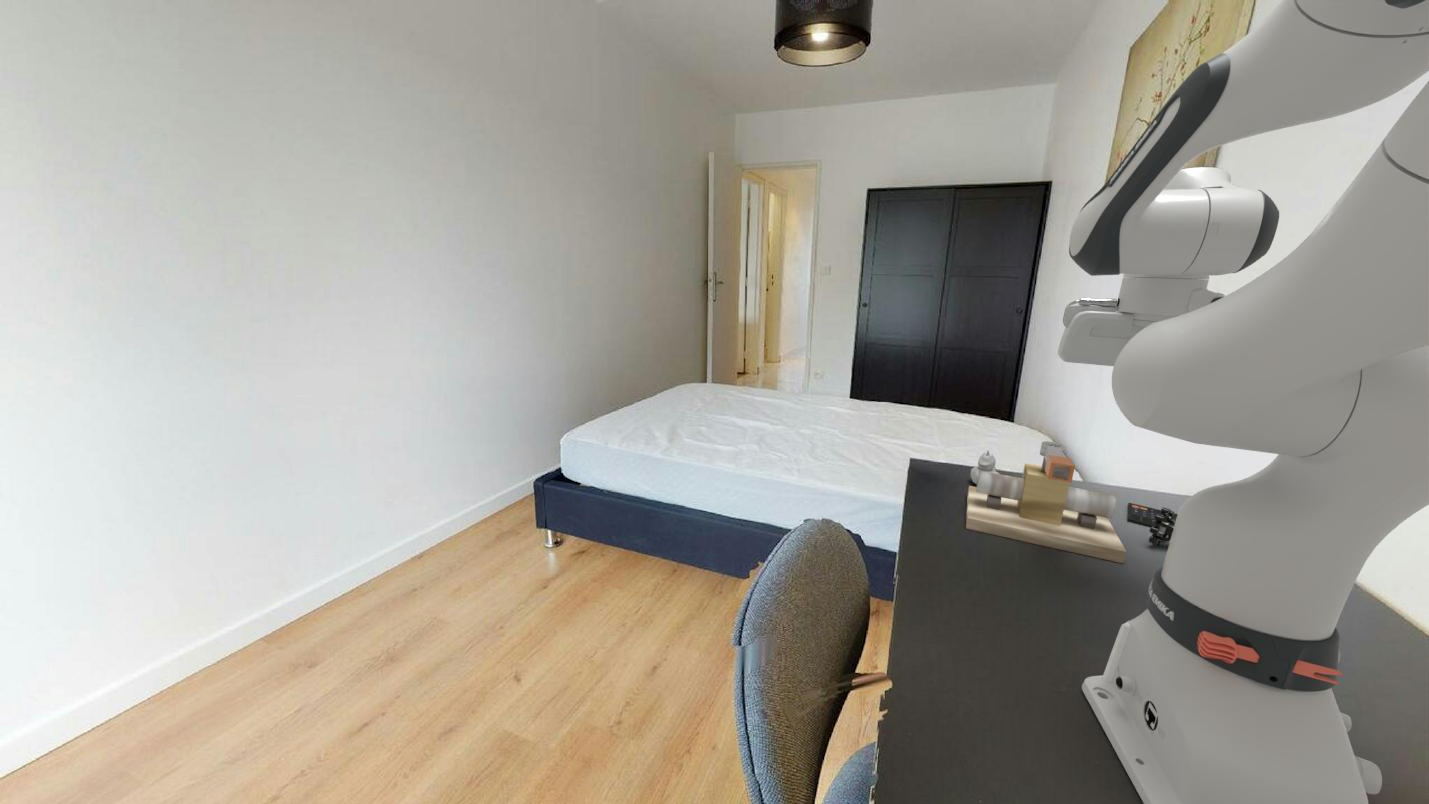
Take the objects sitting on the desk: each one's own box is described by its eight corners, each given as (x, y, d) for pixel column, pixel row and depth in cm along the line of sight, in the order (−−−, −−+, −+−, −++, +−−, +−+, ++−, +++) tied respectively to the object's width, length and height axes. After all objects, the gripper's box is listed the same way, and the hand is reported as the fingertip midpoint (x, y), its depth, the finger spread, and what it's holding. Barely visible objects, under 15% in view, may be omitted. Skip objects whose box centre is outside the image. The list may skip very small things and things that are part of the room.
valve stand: (1123, 563, 79) (1143, 486, 76) (966, 528, 88) (978, 458, 85) (1101, 521, 93) (1117, 455, 90) (967, 495, 102) (977, 434, 99)
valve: (1258, 574, 78) (1160, 538, 88) (1271, 534, 76) (1170, 503, 86) (1245, 586, 75) (1144, 548, 84) (1258, 545, 73) (1154, 511, 83)
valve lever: (1038, 452, 90) (1041, 438, 89) (1058, 456, 88) (1061, 441, 88) (1047, 478, 78) (1051, 462, 77) (1071, 482, 77) (1075, 466, 76)
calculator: (1127, 506, 101) (1131, 492, 100) (1207, 525, 94) (1212, 510, 93) (1126, 523, 94) (1130, 508, 93) (1213, 545, 87) (1218, 529, 86)
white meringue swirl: (963, 484, 108) (969, 448, 106) (976, 477, 112) (982, 442, 110) (991, 493, 104) (997, 455, 102) (1003, 485, 108) (1010, 449, 106)
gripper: (1071, 297, 71) (1051, 394, 75) (1271, 306, 62) (1238, 416, 66) (1064, 296, 77) (1046, 386, 80) (1247, 304, 68) (1218, 405, 71)
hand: (1134, 400), depth 73 cm, fingers closed
